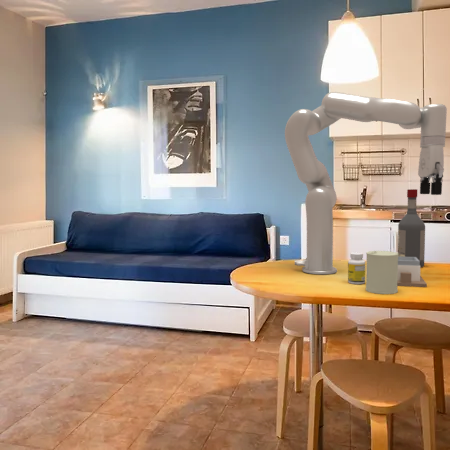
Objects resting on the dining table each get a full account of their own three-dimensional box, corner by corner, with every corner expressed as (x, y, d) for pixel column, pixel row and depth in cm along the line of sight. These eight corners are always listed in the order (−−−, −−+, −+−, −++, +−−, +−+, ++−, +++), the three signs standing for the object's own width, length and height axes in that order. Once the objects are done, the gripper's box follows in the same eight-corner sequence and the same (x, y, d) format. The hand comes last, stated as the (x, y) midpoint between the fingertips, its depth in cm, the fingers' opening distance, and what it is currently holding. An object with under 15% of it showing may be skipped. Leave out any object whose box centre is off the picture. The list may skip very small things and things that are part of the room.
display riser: (386, 285, 142) (386, 262, 142) (382, 275, 158) (382, 254, 157) (426, 287, 139) (427, 263, 138) (419, 277, 154) (419, 255, 154)
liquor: (421, 264, 180) (423, 189, 177) (425, 268, 171) (427, 189, 168) (396, 263, 182) (398, 189, 180) (399, 267, 173) (401, 189, 171)
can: (360, 287, 140) (361, 249, 139) (389, 286, 140) (390, 248, 139) (373, 294, 130) (373, 254, 129) (403, 293, 131) (404, 253, 130)
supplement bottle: (346, 281, 149) (346, 252, 149) (362, 280, 149) (362, 251, 148) (350, 284, 144) (350, 254, 143) (367, 284, 144) (367, 254, 143)
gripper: (412, 145, 157) (410, 193, 159) (431, 140, 140) (428, 195, 142) (433, 145, 157) (431, 193, 158) (455, 140, 140) (453, 195, 141)
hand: (430, 194), depth 150 cm, fingers open, 9 cm apart
